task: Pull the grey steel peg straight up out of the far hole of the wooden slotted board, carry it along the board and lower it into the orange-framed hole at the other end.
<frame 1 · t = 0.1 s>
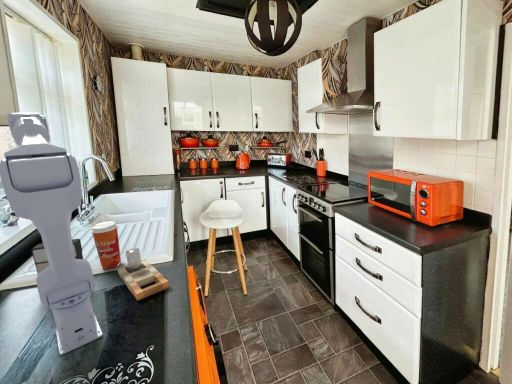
hand: (42, 183, 76), 32 cm above the counter, tool tilted 50°, fingers open, 7 cm apart
calculator: (67, 291, 80), on the counter
coffee cup: (111, 265, 95), on the counter
peg: (136, 273, 88), resting in wooden slotted board
wooden slotted board: (142, 280, 83), on the counter
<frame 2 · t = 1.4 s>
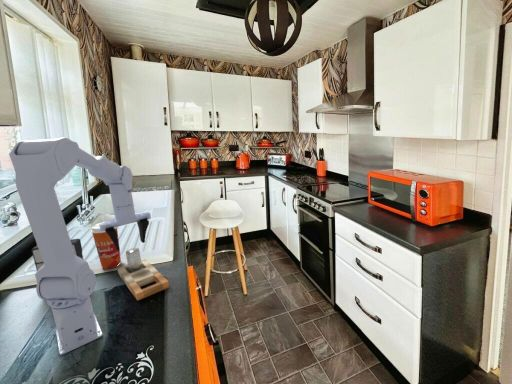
hand: (130, 245, 86), 10 cm above the counter, tool pointing down, fingers open, 7 cm apart
nothing on the counter moved.
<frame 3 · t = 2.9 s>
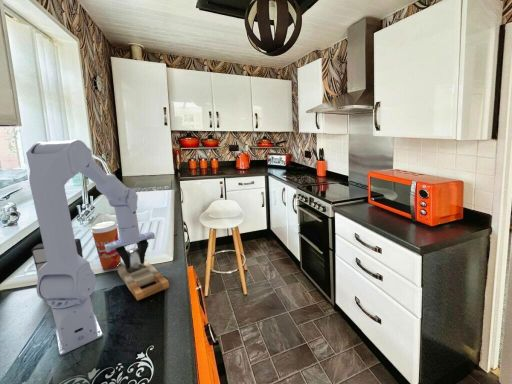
hand: (135, 265, 87), 3 cm above the counter, tool pointing down, fingers closed on peg, 4 cm apart
peg: (136, 273, 88), resting in wooden slotted board, touching gripper
everything else where it was.
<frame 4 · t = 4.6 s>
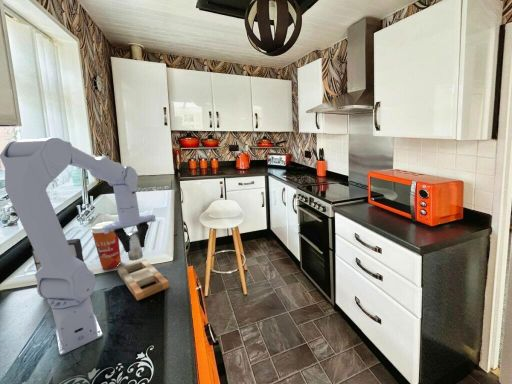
hand: (134, 248, 83), 10 cm above the counter, tool pointing down, fingers closed on peg, 4 cm apart
peg: (136, 257, 84), point 7 cm above the counter, touching gripper
everything else where it was.
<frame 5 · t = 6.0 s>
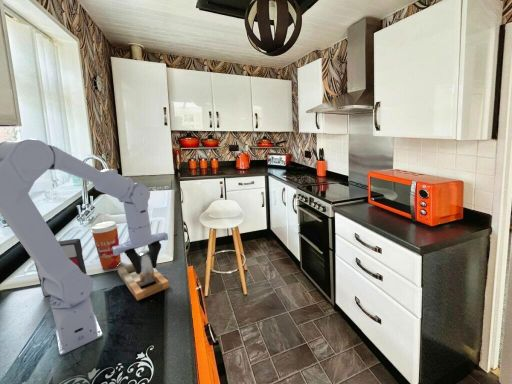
hand: (146, 269, 78), 6 cm above the counter, tool pointing down, fingers closed on peg, 4 cm apart
peg: (147, 278, 78), point 3 cm above the counter, touching gripper
everything else where it was.
when the fingers open (5 cm above the counter, at t = 6.7 s): peg drops 2 cm, resting in wooden slotted board.
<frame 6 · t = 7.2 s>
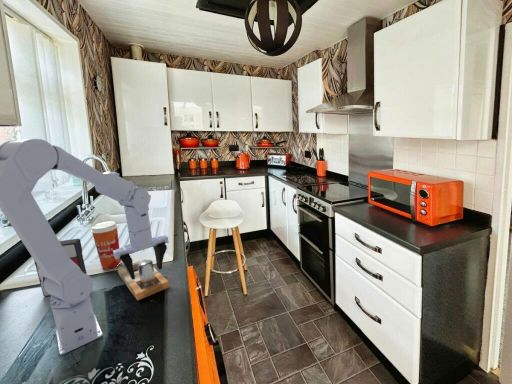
hand: (146, 272, 78), 5 cm above the counter, tool pointing down, fingers open, 7 cm apart
peg: (149, 287, 79), resting in wooden slotted board
everything else where it was.
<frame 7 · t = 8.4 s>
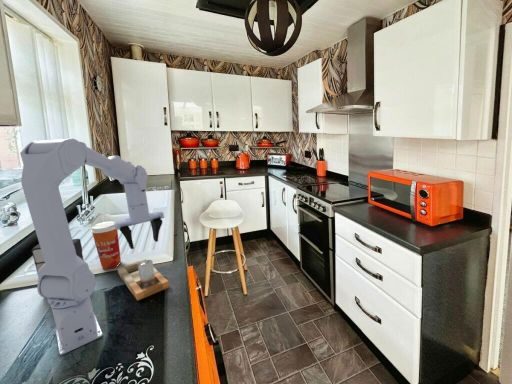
hand: (144, 244, 87), 10 cm above the counter, tool pointing down, fingers open, 7 cm apart
nothing on the counter moved.
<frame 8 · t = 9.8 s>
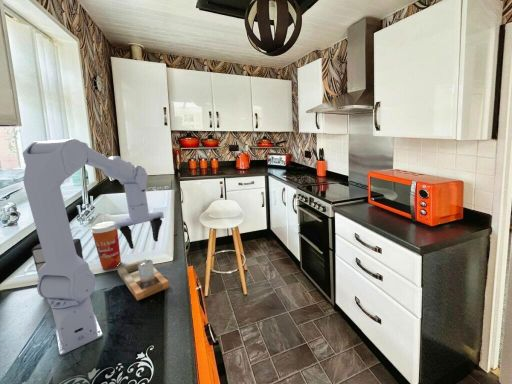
hand: (144, 244, 87), 9 cm above the counter, tool pointing down, fingers open, 7 cm apart
nothing on the counter moved.
at the end: peg 0.1 cm from the target spot on the wooden slotted board, point 0.0 cm above the wooden slotted board's base; peg tilted 0°; the gripper is holding nothing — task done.
